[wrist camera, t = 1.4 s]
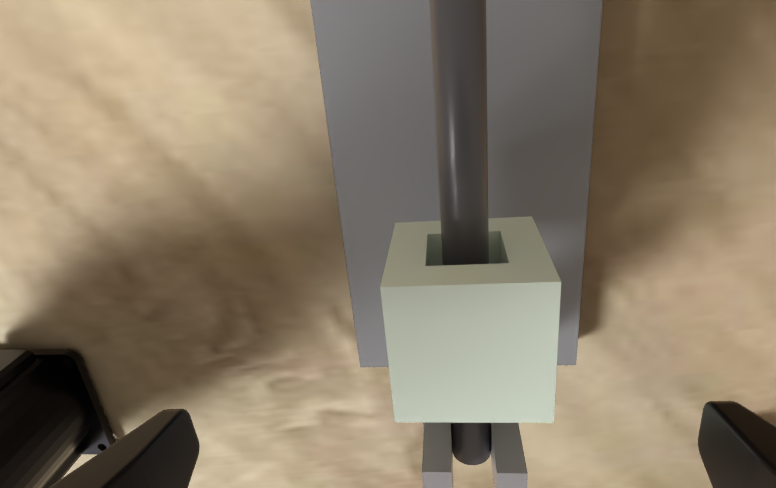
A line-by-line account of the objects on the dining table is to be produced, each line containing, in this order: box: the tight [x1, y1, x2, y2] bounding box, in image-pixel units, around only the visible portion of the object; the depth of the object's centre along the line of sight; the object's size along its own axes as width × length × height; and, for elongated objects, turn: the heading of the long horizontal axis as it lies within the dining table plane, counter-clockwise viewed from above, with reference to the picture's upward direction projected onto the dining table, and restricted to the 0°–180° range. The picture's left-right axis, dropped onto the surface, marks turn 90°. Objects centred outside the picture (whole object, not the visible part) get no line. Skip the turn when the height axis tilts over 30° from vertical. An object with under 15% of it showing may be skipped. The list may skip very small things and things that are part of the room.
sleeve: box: [380, 216, 561, 423], centre depth 14 cm, size 4×4×4 cm
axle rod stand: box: [310, 0, 603, 488], centre depth 14 cm, size 22×9×9 cm, turn 5°
